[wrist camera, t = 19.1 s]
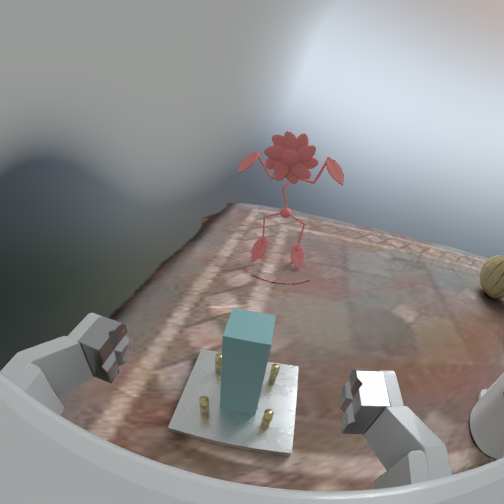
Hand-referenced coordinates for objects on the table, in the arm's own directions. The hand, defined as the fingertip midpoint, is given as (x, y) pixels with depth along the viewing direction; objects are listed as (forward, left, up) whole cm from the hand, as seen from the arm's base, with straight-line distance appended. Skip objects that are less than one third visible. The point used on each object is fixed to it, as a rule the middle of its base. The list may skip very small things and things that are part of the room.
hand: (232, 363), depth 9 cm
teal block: (+1, -17, -27) cm, 32 cm away
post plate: (+1, -17, -28) cm, 33 cm away
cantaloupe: (-78, -63, -28) cm, 104 cm away
